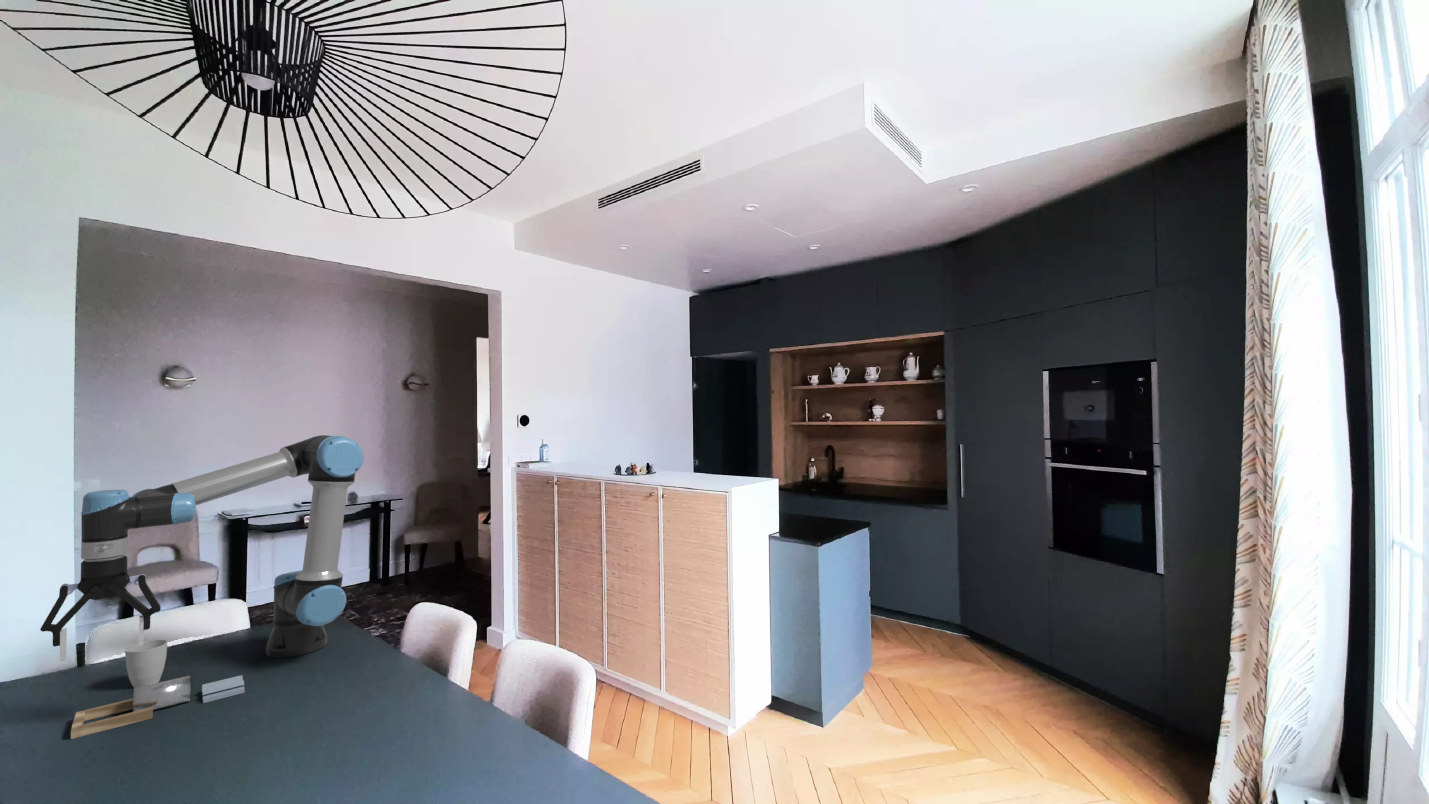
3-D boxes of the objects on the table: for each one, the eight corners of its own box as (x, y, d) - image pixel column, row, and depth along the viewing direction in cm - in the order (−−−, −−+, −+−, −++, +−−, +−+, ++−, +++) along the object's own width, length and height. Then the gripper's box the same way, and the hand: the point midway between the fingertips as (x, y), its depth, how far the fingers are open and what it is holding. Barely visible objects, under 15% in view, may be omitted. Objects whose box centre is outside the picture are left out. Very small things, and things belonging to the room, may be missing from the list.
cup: (175, 677, 159) (176, 640, 159) (143, 691, 151) (144, 652, 151) (148, 675, 160) (149, 638, 160) (115, 690, 152) (115, 651, 152)
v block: (201, 691, 151) (201, 682, 151) (241, 681, 156) (241, 672, 156) (203, 703, 145) (203, 693, 145) (244, 692, 151) (244, 682, 151)
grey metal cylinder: (132, 717, 137) (133, 690, 138) (133, 713, 142) (134, 686, 143) (190, 702, 144) (190, 677, 145) (189, 699, 148) (189, 674, 149)
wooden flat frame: (76, 720, 137) (76, 712, 137) (153, 701, 146) (153, 693, 146) (70, 739, 129) (70, 730, 129) (152, 718, 138) (152, 709, 138)
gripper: (22, 570, 126) (20, 672, 125) (175, 552, 142) (174, 642, 142) (28, 563, 131) (26, 661, 131) (175, 546, 148) (173, 633, 147)
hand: (103, 651), depth 136 cm, fingers open, 12 cm apart
